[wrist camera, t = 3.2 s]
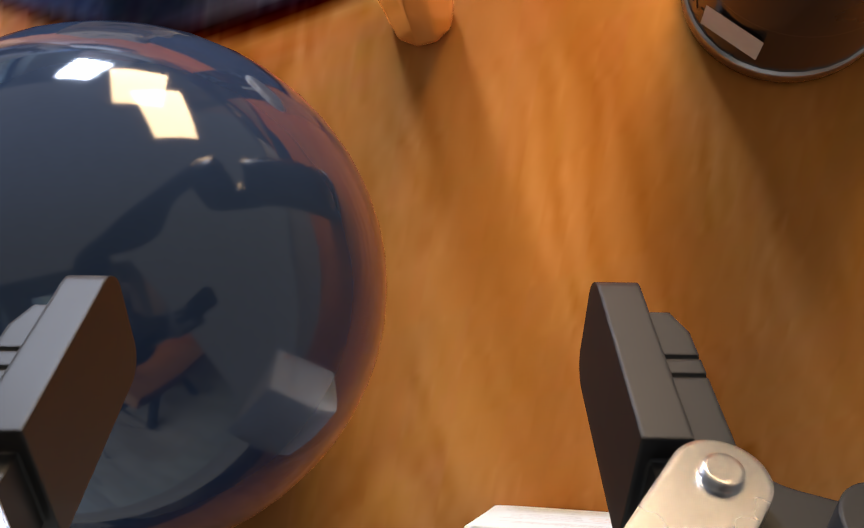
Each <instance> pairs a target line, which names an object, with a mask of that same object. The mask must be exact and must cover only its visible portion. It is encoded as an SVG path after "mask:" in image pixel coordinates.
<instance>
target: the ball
mask: <svg viewBox="0 0 864 528" xmlns="http://www.w3.org/2000/svg"><path fill="white" fill-rule="evenodd" d="M68 275H97V276H115V277H116V278H117V280H118V281H119V283H120V286H121V290H122V294H123V298H124V302H125V306H126V310H127V314H128V318H129V322H130V325H131V329H132V333H133V337H134V341H135V346H136V356H137V357H136V370H135V375H134V379H133V382H132V384H131V387H130V389H129V391H128V394H127V396H126V398H125V401H124V403H123V405H122V408H121V410H120V412H119V414H118V417H117V419H116V421H115V424H114V426H113V428H112V431H111V433H110V435H109V438H108V440H107V442H106V444H105V447H104V449H103V451H102V454H101V456H100V458H99V461H98V463H97V465H96V468H95V470H94V472H93V474H92V477H91V479H90V481H89V484H88V486H87V488H86V491H85V493H84V495H83V498H82V500H81V502H80V504H79V507H78V509H77V511H76V514H75V516H74V518H73V521H72V523H71V525H70V528H233V527H234V526H236V525H238V524H240V523H242V522H244V521H246V520H248V519H250V518H252V517H253V516H255V515H256V514H258V513H259V512H261V511H262V510H264V509H265V508H266V507H268V506H269V505H271V504H272V503H273V502H275V501H276V500H278V499H279V498H281V497H282V496H283V495H284V494H285V493H287V492H288V491H289V490H290V489H291V488H292V487H293V486H294V485H295V484H296V483H297V482H299V481H300V480H301V479H302V478H303V477H304V476H305V475H306V474H307V473H308V472H309V471H311V470H312V469H313V468H314V467H315V466H316V464H317V463H318V462H319V461H320V460H321V458H322V457H323V456H324V455H325V454H326V453H327V451H328V450H329V449H330V448H331V447H332V446H333V444H334V443H335V442H336V440H337V439H338V437H339V436H340V434H341V433H342V431H343V430H344V428H345V427H346V425H347V424H348V422H349V421H350V419H351V418H352V416H353V414H354V412H355V410H356V408H357V406H358V404H359V402H360V400H361V398H362V396H363V394H364V392H365V390H366V388H367V386H368V383H369V380H370V377H371V375H372V372H373V369H374V366H375V363H376V360H377V357H378V354H379V349H380V344H381V339H382V334H383V329H384V324H385V312H386V299H387V276H386V259H385V250H384V245H383V240H382V235H381V230H380V225H379V221H378V218H377V215H376V212H375V209H374V207H373V204H372V201H371V198H370V195H369V192H368V190H367V188H366V185H365V183H364V181H363V179H362V177H361V175H360V173H359V171H358V169H357V167H356V165H355V163H354V161H353V160H352V158H351V156H350V154H349V153H348V151H347V150H346V148H345V147H344V146H343V144H342V143H341V141H340V140H339V138H338V137H337V136H336V134H335V133H334V131H333V130H332V129H331V128H330V126H329V125H328V124H327V123H326V122H325V120H324V119H323V118H322V117H321V116H320V115H319V114H318V113H317V112H316V111H315V110H314V109H313V108H312V107H311V105H310V104H309V103H308V102H307V101H306V100H305V99H304V98H303V97H302V96H301V95H300V94H298V93H297V92H296V91H295V90H293V89H292V88H291V87H289V86H288V85H287V84H286V83H284V82H283V81H282V80H280V79H279V78H278V77H276V76H275V75H274V74H272V73H271V72H269V71H268V70H267V69H265V68H264V67H263V66H261V65H259V64H257V63H256V62H254V61H252V60H250V59H249V58H247V57H245V56H243V55H241V54H240V53H238V52H236V51H234V50H231V49H229V48H226V47H224V46H221V45H219V44H216V43H214V42H211V41H209V40H206V39H204V38H201V37H199V36H196V35H194V34H191V33H188V32H183V31H179V30H175V29H171V28H167V27H163V26H157V25H151V24H144V23H136V22H127V21H117V20H92V21H74V22H63V23H57V24H50V25H43V26H36V27H32V28H28V29H25V30H21V31H17V32H14V33H10V34H6V35H4V36H1V37H0V336H1V334H2V333H3V331H4V330H5V328H6V327H7V325H8V324H9V323H10V322H12V321H13V320H14V319H16V318H17V317H18V316H20V315H21V314H22V313H24V312H25V311H26V310H28V309H29V308H30V307H32V306H33V305H47V304H48V302H49V300H50V299H51V297H52V296H53V294H54V292H55V291H56V289H57V288H58V286H59V284H60V283H61V281H62V280H63V279H64V278H65V277H66V276H68Z"/></svg>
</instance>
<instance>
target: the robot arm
mask: <svg viewBox="0 0 864 528" xmlns="http://www.w3.org/2000/svg"><path fill="white" fill-rule="evenodd" d="M681 3H682V8H683V13H684V16H685V19H686V21H687V24H688V26H689V28H690V30H691V32H692V33H693V35H694V37H695V38H696V39H697V41H698V42H699V43H700V44H701V46H702V47H703V48H704V49H705V50H706V51H707V52H708V53H709V54H710V55H711V56H713V57H714V58H715V59H717V60H718V61H719V62H721V63H722V64H724V65H725V66H727V67H729V68H731V69H733V70H735V71H737V72H739V73H742V74H744V75H747V76H750V77H753V78H757V79H761V80H766V81H773V82H801V81H808V80H813V79H818V78H821V77H824V76H828V75H830V74H833V73H835V72H837V71H840V70H841V69H843V68H845V67H847V66H849V65H850V64H852V63H853V62H855V61H856V60H857V59H859V58H860V57H861V56H862V55H863V54H864V0H681ZM136 357H137V356H136V346H135V341H134V337H133V333H132V329H131V325H130V322H129V318H128V314H127V310H126V306H125V302H124V298H123V294H122V290H121V286H120V283H119V281H118V280H117V278H116V277H115V276H97V275H68V276H66V277H65V278H64V279H63V280H62V281H61V283H60V284H59V286H58V288H57V289H56V291H55V292H54V294H53V296H52V297H51V299H50V300H49V302H48V304H47V305H33V306H32V307H30V308H29V309H28V310H26V311H25V312H24V313H22V314H21V315H20V316H18V317H17V318H16V319H14V320H13V321H12V322H10V323H9V324H8V325H7V327H6V328H5V330H4V331H3V333H2V334H1V336H0V528H70V525H71V523H72V521H73V518H74V516H75V514H76V511H77V509H78V507H79V504H80V502H81V500H82V498H83V495H84V493H85V491H86V488H87V486H88V484H89V481H90V479H91V477H92V474H93V472H94V470H95V468H96V465H97V463H98V461H99V458H100V456H101V454H102V451H103V449H104V447H105V444H106V442H107V440H108V438H109V435H110V433H111V431H112V428H113V426H114V424H115V421H116V419H117V417H118V414H119V412H120V410H121V408H122V405H123V403H124V401H125V398H126V396H127V394H128V391H129V389H130V387H131V384H132V382H133V379H134V375H135V370H136ZM579 371H580V383H581V389H582V394H583V398H584V403H585V407H586V412H587V416H588V421H589V425H590V430H591V434H592V439H593V443H594V448H595V452H596V457H597V461H598V466H599V470H600V475H601V479H602V484H603V488H604V493H605V497H606V502H607V506H608V511H609V515H610V520H611V524H612V528H864V482H863V483H858V484H855V485H853V486H851V487H849V488H848V489H846V490H845V491H844V492H843V494H842V495H841V497H840V500H839V501H835V500H831V499H827V498H824V497H820V496H816V495H812V494H809V493H805V492H801V491H797V490H794V489H791V488H788V487H785V486H782V485H780V484H778V483H776V482H774V481H772V480H771V477H770V475H769V473H768V472H767V470H766V468H765V467H764V466H763V465H762V464H761V463H760V462H759V461H758V460H757V459H756V458H755V457H754V456H752V455H751V454H749V453H748V452H747V451H745V450H743V449H741V448H739V447H737V446H736V444H735V442H734V439H733V437H732V434H731V432H730V430H729V427H728V425H727V422H726V420H725V418H724V415H723V413H722V410H721V408H720V405H719V403H718V401H717V398H716V396H715V393H714V391H713V388H712V386H711V384H710V381H709V379H708V378H706V371H705V369H704V367H703V364H702V362H701V360H699V354H698V352H697V350H696V347H695V345H694V342H693V340H692V338H691V335H690V333H689V332H688V331H687V330H686V329H685V328H684V327H683V326H682V325H681V324H680V323H679V322H678V321H677V320H676V319H675V318H674V317H673V316H672V315H671V314H670V313H659V312H649V310H648V307H647V304H646V302H645V299H644V296H643V293H642V291H641V288H640V286H639V284H638V283H616V282H594V283H593V284H592V286H591V289H590V293H589V299H588V305H587V312H586V318H585V324H584V330H583V337H582V343H581V349H580V361H579Z"/></svg>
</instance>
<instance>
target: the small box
mask: <svg viewBox="0 0 864 528" xmlns="http://www.w3.org/2000/svg"><path fill="white" fill-rule="evenodd" d="M464 528H612V524H611V520H610V515H609V512H599V511H585V510H571V509H557V508H543V507H527V506H508V505H495V506H493V507H492V508H491V509H489V510H488V511H487V512H485V513H484V514H482V515H481V516H479V517H478V518H476V519H475V520H473V521H472V522H470V523H469V524H467V525H466V526H465V527H464Z"/></svg>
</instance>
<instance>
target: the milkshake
mask: <svg viewBox="0 0 864 528" xmlns="http://www.w3.org/2000/svg"><path fill="white" fill-rule="evenodd" d="M378 1H379V3H380V5H381V7H382V9H383V11H384V13H385V15H386V17H387V19H388V21H389V23H390V25H391V26H392V28H393V30H394V32H395V33H396V35H397V37H398V38H399V40H402V41H405V42H407V43H410V44H412V45H415V46H421V45H425V44H429V43H434V42H437V41H438V40H439V39H440V38H441V37H442V36H443V35H444V34H445V33H446V32H447V31H448V30H449V29H450V28H451V24H452V17H453V11H454V4H453V0H378Z"/></svg>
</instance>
